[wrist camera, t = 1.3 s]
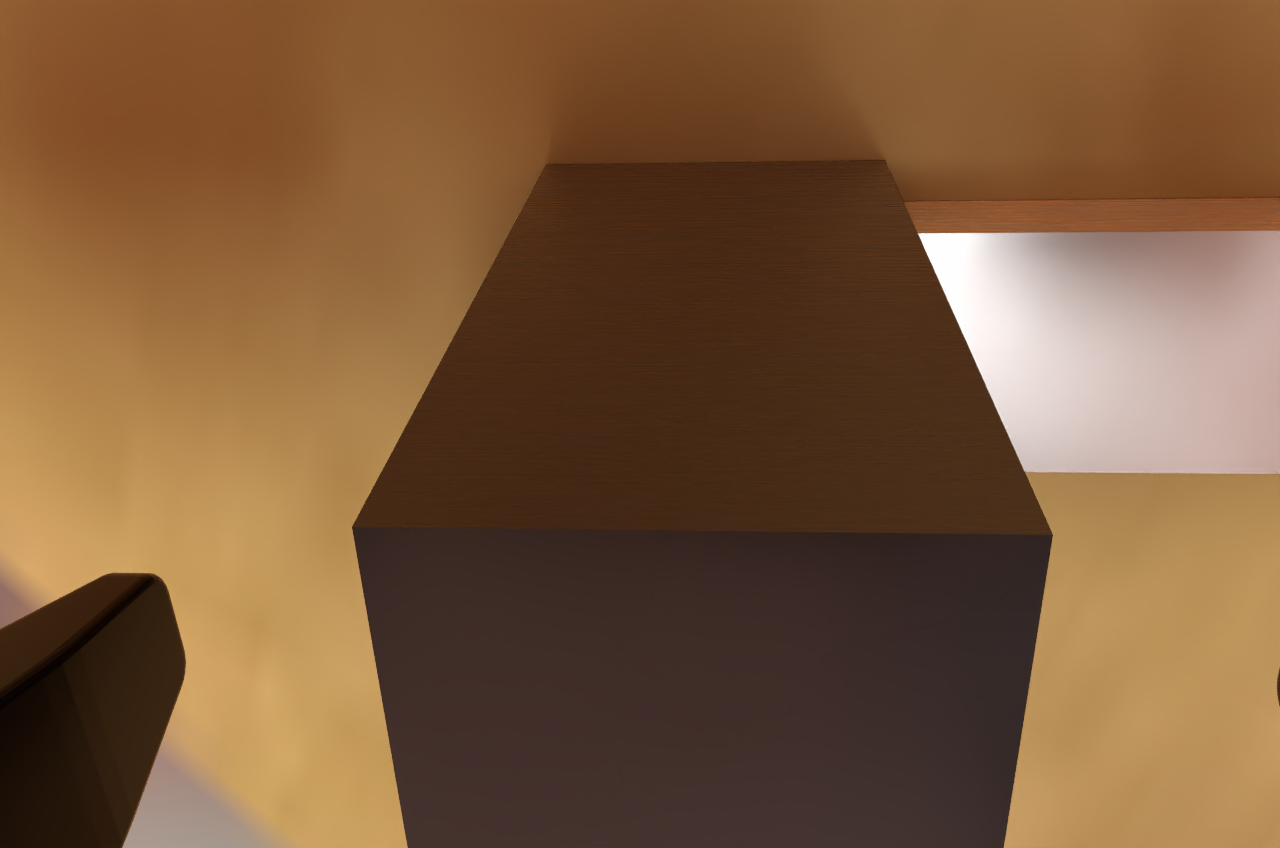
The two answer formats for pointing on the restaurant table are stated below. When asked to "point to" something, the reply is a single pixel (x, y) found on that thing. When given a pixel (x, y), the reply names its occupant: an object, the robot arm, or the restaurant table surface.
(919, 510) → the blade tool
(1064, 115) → the restaurant table surface
